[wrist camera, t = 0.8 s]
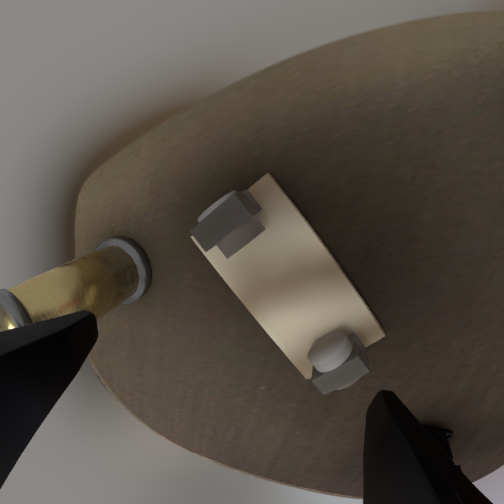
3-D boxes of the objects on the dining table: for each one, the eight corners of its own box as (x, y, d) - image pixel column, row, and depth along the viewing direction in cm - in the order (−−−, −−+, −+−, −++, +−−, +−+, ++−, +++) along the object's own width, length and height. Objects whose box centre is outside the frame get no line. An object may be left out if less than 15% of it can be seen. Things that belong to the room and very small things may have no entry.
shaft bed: (385, 333, 21) (394, 362, 17) (309, 375, 23) (305, 406, 19) (266, 169, 20) (254, 169, 16) (192, 231, 22) (167, 243, 18)
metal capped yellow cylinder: (147, 308, 25) (42, 396, 13) (98, 284, 26) (-10, 347, 13) (156, 249, 23) (27, 319, 11) (104, 227, 24) (-24, 273, 12)
